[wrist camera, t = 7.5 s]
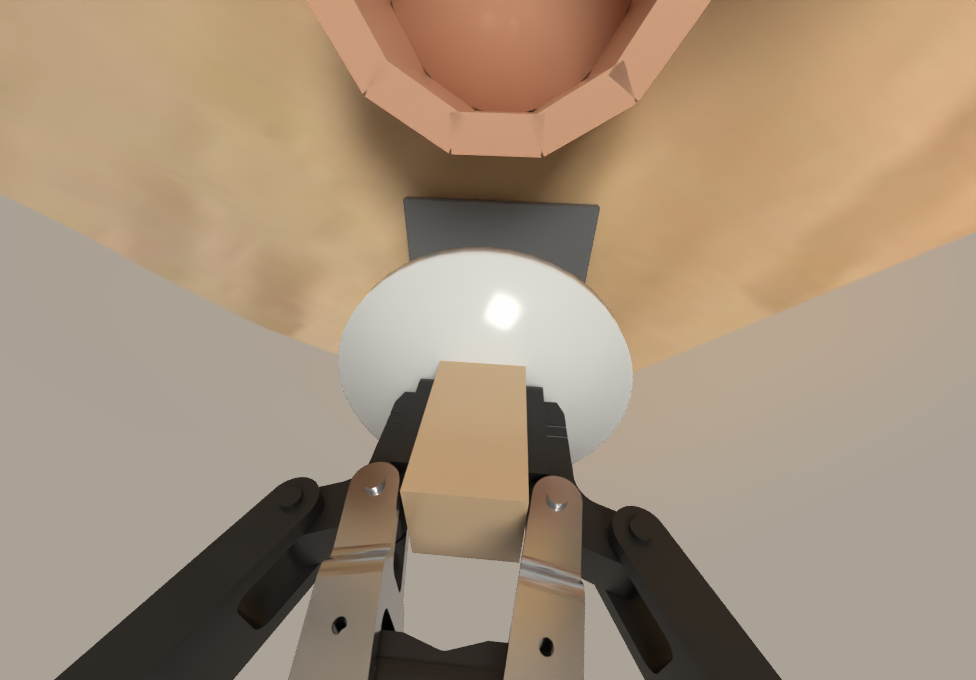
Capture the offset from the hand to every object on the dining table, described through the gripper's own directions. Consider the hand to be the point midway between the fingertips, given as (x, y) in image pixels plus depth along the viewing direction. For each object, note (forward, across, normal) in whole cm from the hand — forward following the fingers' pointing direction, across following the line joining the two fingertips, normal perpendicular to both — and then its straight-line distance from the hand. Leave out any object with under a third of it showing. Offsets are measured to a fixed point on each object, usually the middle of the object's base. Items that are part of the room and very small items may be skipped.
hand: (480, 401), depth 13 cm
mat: (+10, 0, 0) cm, 10 cm away
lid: (+1, 0, 0) cm, 1 cm away
